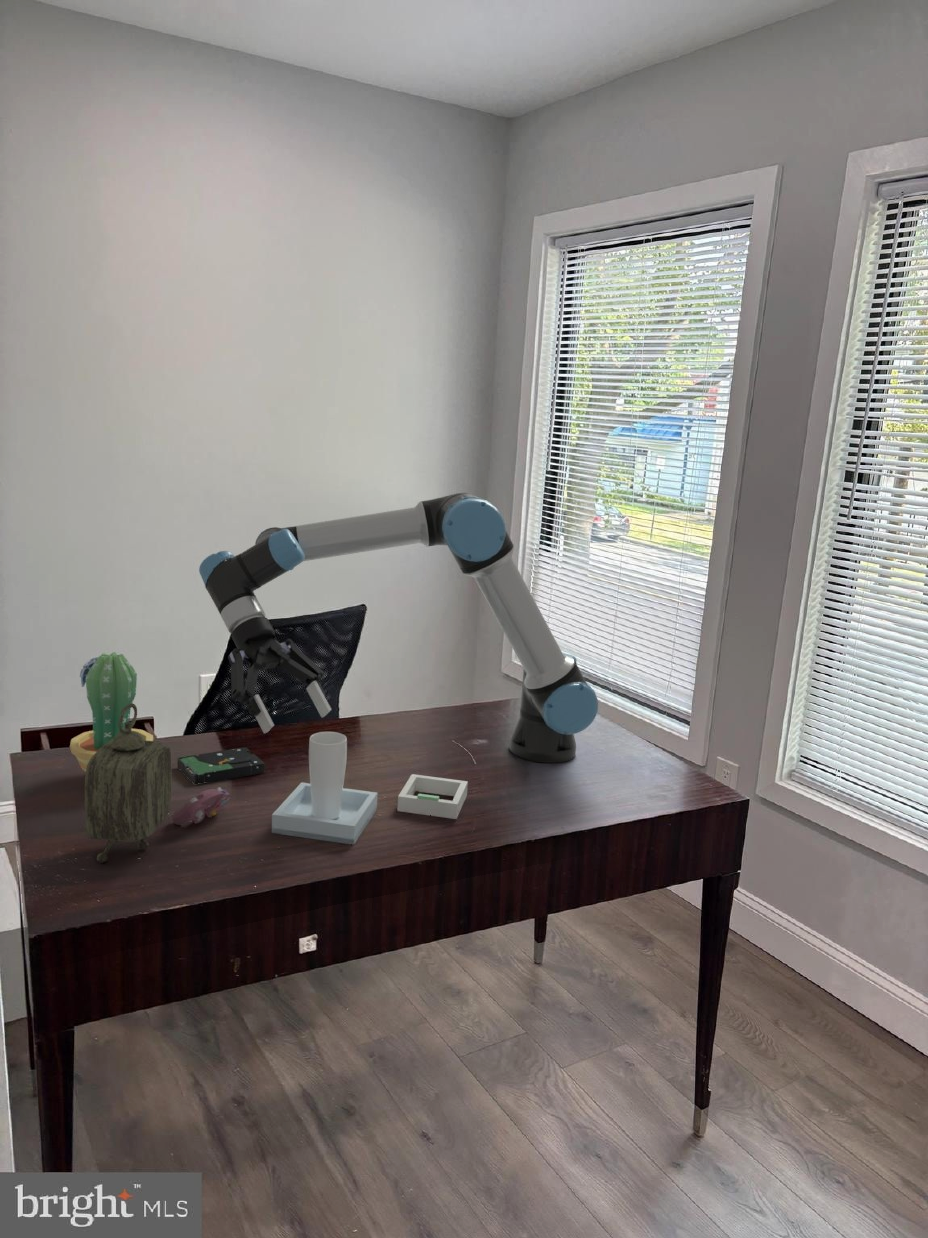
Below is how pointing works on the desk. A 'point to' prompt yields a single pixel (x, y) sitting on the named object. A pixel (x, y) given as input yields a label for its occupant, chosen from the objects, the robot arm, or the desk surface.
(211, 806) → the pink toy figurine
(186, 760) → the disk drive
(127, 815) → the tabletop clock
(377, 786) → the desk surface
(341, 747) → the drinking glass
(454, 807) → the frame
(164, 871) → the desk surface
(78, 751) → the potted cactus
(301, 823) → the tray
